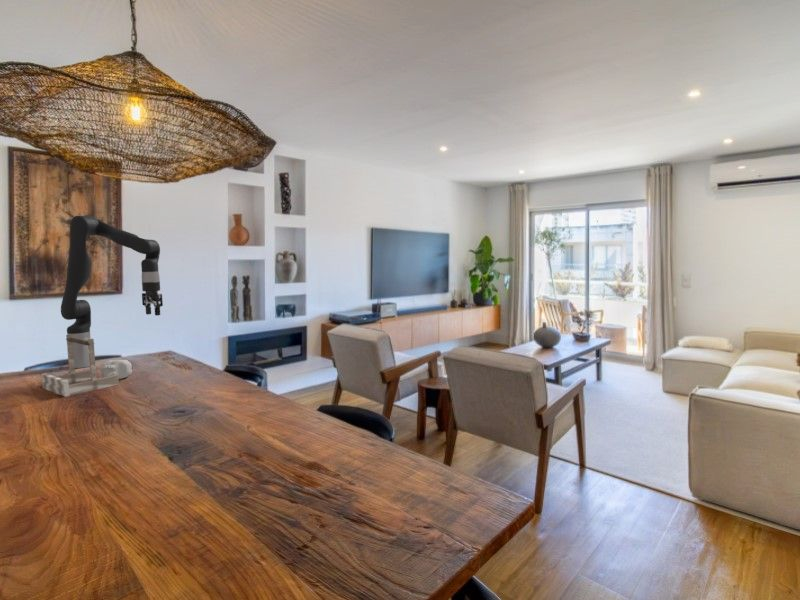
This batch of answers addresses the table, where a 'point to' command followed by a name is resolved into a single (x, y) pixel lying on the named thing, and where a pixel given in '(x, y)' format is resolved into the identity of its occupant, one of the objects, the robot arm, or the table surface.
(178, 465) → the table surface
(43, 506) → the table surface
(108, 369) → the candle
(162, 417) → the table surface
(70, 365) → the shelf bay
